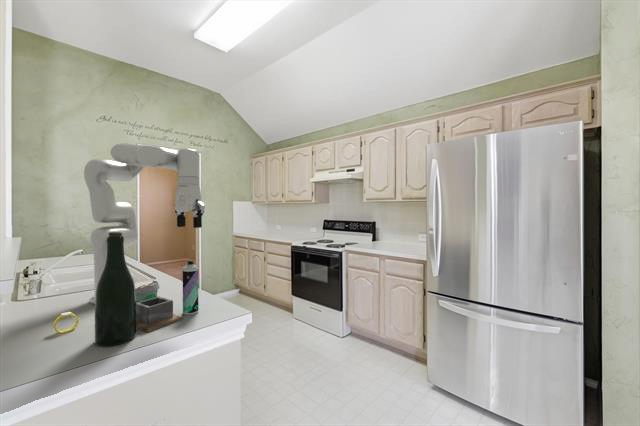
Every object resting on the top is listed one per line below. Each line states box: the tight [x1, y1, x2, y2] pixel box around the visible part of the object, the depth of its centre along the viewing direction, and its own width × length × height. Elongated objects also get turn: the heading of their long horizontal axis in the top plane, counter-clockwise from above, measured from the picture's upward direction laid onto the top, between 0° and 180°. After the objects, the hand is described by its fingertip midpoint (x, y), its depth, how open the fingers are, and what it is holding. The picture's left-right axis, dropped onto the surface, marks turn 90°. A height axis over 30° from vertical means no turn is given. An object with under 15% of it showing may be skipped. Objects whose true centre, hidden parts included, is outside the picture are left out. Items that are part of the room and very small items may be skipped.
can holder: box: [136, 296, 183, 333], centre depth 100 cm, size 14×12×7 cm
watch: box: [52, 311, 79, 334], centre depth 92 cm, size 6×3×6 cm, turn 141°
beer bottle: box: [94, 232, 138, 347], centre depth 87 cm, size 10×10×33 cm
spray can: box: [182, 259, 199, 316], centre depth 109 cm, size 6×6×20 cm
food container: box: [135, 280, 160, 303], centre depth 111 cm, size 12×6×10 cm, turn 168°
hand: (189, 227), depth 108 cm, fingers open, 9 cm apart
